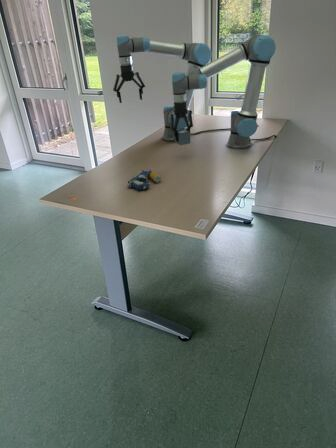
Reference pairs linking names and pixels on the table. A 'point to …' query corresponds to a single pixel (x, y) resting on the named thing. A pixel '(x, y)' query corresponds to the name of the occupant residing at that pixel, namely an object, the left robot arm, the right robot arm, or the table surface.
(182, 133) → the brick
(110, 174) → the table surface
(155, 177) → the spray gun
